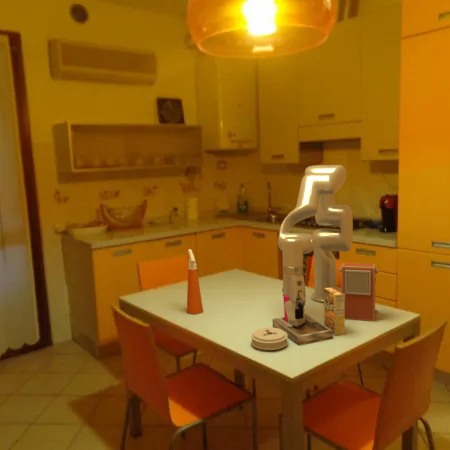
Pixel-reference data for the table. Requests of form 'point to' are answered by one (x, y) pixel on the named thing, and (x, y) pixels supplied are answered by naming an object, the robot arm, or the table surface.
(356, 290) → the red speaker
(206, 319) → the table surface
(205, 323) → the table surface
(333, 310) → the candy box
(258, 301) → the table surface
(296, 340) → the shallow rectangular tray
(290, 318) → the supplement box
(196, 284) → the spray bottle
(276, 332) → the lid
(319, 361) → the table surface
